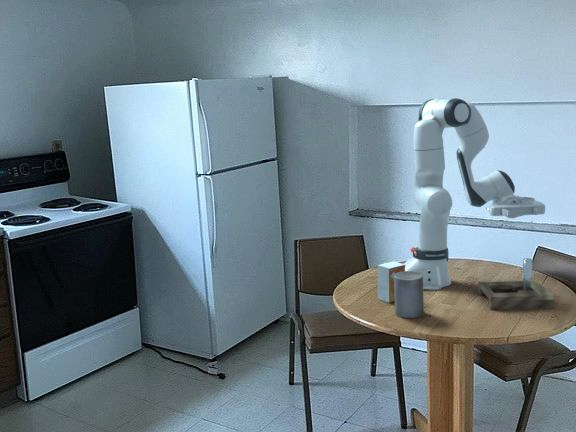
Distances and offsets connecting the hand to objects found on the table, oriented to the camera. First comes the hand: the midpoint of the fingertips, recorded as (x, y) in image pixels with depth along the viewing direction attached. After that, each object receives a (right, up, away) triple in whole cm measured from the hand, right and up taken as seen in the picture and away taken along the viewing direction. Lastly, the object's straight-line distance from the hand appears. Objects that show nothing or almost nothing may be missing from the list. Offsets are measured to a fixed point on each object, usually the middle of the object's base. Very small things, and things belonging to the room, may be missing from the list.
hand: (522, 213), depth 235 cm
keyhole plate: (-7, -31, -11) cm, 34 cm away
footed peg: (-3, -31, -11) cm, 33 cm away
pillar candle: (-46, -35, -19) cm, 60 cm away
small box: (-49, -32, -3) cm, 59 cm away
